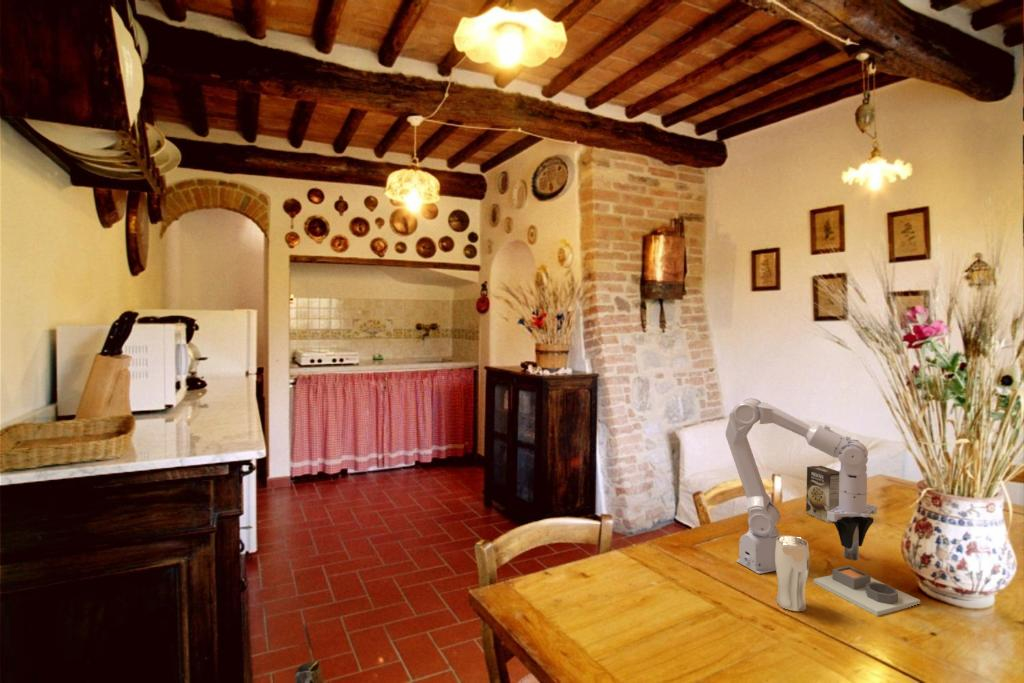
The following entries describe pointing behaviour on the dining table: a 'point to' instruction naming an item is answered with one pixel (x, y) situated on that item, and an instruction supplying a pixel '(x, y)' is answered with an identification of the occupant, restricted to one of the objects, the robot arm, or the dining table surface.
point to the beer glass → (791, 571)
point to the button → (851, 573)
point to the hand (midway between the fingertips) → (851, 545)
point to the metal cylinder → (853, 545)
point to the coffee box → (822, 491)
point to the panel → (864, 599)
